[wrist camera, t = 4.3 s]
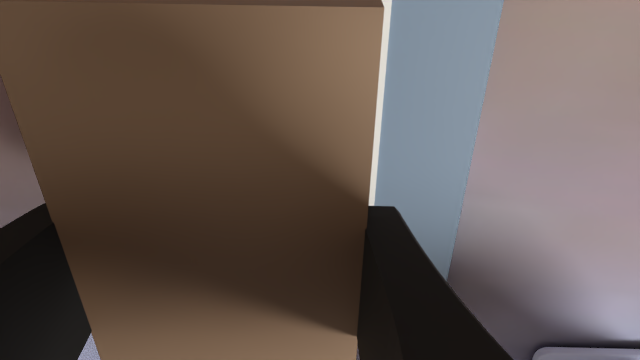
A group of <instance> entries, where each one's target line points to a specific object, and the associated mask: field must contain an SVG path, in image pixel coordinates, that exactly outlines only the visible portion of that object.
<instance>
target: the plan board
mask: <svg viewBox="0 0 640 360" xmlns="http://www.w3.org/2000/svg"><path fill="white" fill-rule="evenodd" d="M503 2H504V0H382V3H383V5H384V18H383V31H382V43H381V56H380V68H379V81H378V93H377V105H376V118H375V130H374V143H373V155H372V168H371V180H370V193H369V205H368V206H394V207H395V208H396V209H397V210H398V211H399V212H400V214H401V216H402V217H403V219H404V221H405V222H406V224H407V226H408V227H409V229H410V230H411V232H412V234H413V235H414V237H415V238H416V240H417V241H418V243H419V244H420V246H421V247H422V249H423V250H424V251H425V253H426V254H427V256H428V257H429V259H430V260H431V261H432V263H433V264H434V266H435V267H436V268H437V270H438V271H439V272H440V274H441V275H442V276H443V278H444V279H445V280H446V282H447V278H448V273H449V268H450V263H451V258H452V253H453V248H454V244H455V239H456V234H457V229H458V224H459V219H460V214H461V209H462V204H463V199H464V194H465V189H466V184H467V179H468V174H469V170H470V165H471V160H472V155H473V150H474V145H475V140H476V135H477V130H478V125H479V120H480V115H481V110H482V105H483V100H484V95H485V91H486V86H487V81H488V76H489V71H490V66H491V61H492V56H493V51H494V46H495V41H496V36H497V31H498V26H499V21H500V17H501V12H502V7H503Z"/></svg>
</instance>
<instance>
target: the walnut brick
mask: <svg viewBox="0 0 640 360" xmlns="http://www.w3.org/2000/svg"><path fill="white" fill-rule="evenodd" d="M383 18H384V5H383V3H382V0H0V75H1V78H2V80H3V83H4V86H5V89H6V92H7V95H8V97H9V100H10V103H11V106H12V109H13V112H14V114H15V117H16V120H17V123H18V126H19V129H20V132H21V134H22V137H23V140H24V143H25V146H26V149H27V151H28V154H29V157H30V160H31V163H32V166H33V168H34V171H35V174H36V177H37V180H38V183H39V185H40V188H41V191H42V194H43V197H44V200H45V202H46V205H47V208H48V211H49V214H50V217H51V220H52V222H54V224H55V227H56V230H57V233H58V236H59V238H60V241H61V244H62V247H63V250H64V253H65V256H66V258H67V261H68V264H69V267H70V270H71V273H72V276H73V278H74V281H75V284H76V287H77V290H78V293H79V295H80V298H81V301H82V304H83V307H84V310H85V313H86V315H87V318H88V321H89V324H90V327H91V330H92V332H91V333H92V336H93V339H94V342H95V344H96V347H97V350H98V353H99V356H100V359H101V360H356V355H357V343H358V342H357V328H358V315H359V303H360V290H361V278H362V265H363V252H364V240H365V229H367V218H368V205H369V193H370V180H371V168H372V155H373V143H374V130H375V118H376V105H377V93H378V81H379V68H380V56H381V43H382V31H383Z"/></svg>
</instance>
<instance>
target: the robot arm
mask: <svg viewBox="0 0 640 360" xmlns="http://www.w3.org/2000/svg"><path fill="white" fill-rule="evenodd" d="M91 332H92V330H91V327H90V324H89V321H88V318H87V315H86V313H85V310H84V307H83V304H82V301H81V298H80V295H79V293H78V290H77V287H76V284H75V281H74V278H73V276H72V273H71V270H70V267H69V264H68V261H67V258H66V256H65V253H64V250H63V247H62V244H61V241H60V238H59V236H58V233H57V230H56V227H55V224H54V222H52V220H51V217H50V214H49V211H48V208H47V205H46V203H44V204H42V205H40V206H39V207H37V208H35V209H33V210H31V211H29V212H28V213H26V214H24V215H22V216H21V217H19V218H17V219H16V220H14V221H12V222H11V223H9V224H7V225H6V226H4V227H2V228H0V360H77V359H78V357H79V355H80V353H81V352H82V350H83V348H84V346H85V344H86V342H87V340H88V338H89V336H90V334H91ZM357 342H358V349H359V356H360V360H513V359H512V358H511V357H510V355H509V354H508V353H507V352H506V351H505V350H504V349H503V348H502V347H501V346H500V345H499V344H498V343H497V341H496V340H495V339H494V338H493V337H492V336H491V335H490V334H489V333H488V331H487V330H486V329H485V328H484V327H483V326H482V325H481V323H480V322H479V321H478V320H477V319H476V318H475V316H474V315H473V314H472V313H471V312H470V311H469V309H468V308H467V307H466V306H465V305H464V303H463V302H462V301H461V300H460V298H459V297H458V296H457V295H456V293H455V292H454V291H453V289H452V288H451V287H450V286H449V284H448V283H447V282H446V280H445V279H444V278H443V276H442V275H441V274H440V272H439V271H438V270H437V268H436V267H435V266H434V264H433V263H432V261H431V260H430V259H429V257H428V256H427V254H426V253H425V251H424V250H423V249H422V247H421V246H420V244H419V243H418V241H417V240H416V238H415V237H414V235H413V234H412V232H411V230H410V229H409V227H408V226H407V224H406V222H405V221H404V219H403V217H402V216H401V214H400V212H399V211H398V210H397V209H396V208H395V207H394V206H368V218H367V229H365V240H364V252H363V265H362V278H361V290H360V303H359V315H358V328H357ZM532 360H640V349H615V348H572V347H543V348H541V349H539V350H537V351H536V353H535V354H534V356H533V359H532Z"/></svg>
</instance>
